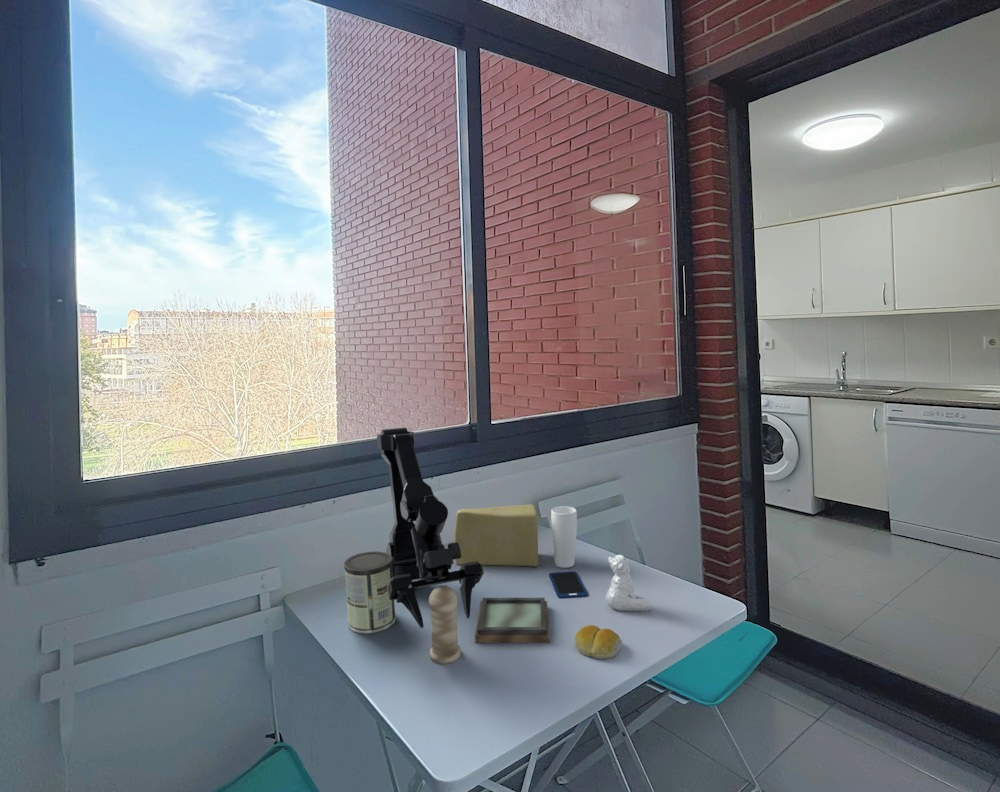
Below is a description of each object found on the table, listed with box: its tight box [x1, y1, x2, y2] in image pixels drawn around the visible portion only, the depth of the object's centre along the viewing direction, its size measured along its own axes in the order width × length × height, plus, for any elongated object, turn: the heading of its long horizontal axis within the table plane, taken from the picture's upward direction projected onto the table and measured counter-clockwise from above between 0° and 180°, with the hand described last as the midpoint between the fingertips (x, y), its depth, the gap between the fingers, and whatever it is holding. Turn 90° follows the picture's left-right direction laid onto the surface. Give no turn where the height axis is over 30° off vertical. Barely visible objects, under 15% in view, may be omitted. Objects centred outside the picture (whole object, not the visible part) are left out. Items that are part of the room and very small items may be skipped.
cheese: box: [454, 503, 539, 568], centre depth 160 cm, size 22×10×15 cm, turn 92°
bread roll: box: [574, 624, 623, 660], centre depth 117 cm, size 8×9×4 cm
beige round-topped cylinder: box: [428, 585, 462, 665], centre depth 115 cm, size 6×6×14 cm
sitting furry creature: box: [605, 554, 651, 612], centre depth 134 cm, size 10×9×12 cm
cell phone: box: [548, 570, 589, 599], centre depth 146 cm, size 7×14×1 cm, turn 5°
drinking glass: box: [550, 505, 578, 569], centre depth 157 cm, size 7×7×15 cm
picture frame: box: [474, 597, 550, 644], centre depth 127 cm, size 15×15×2 cm
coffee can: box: [343, 551, 396, 634], centre depth 129 cm, size 10×10×14 cm
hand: (445, 622), depth 114 cm, fingers open, 9 cm apart
